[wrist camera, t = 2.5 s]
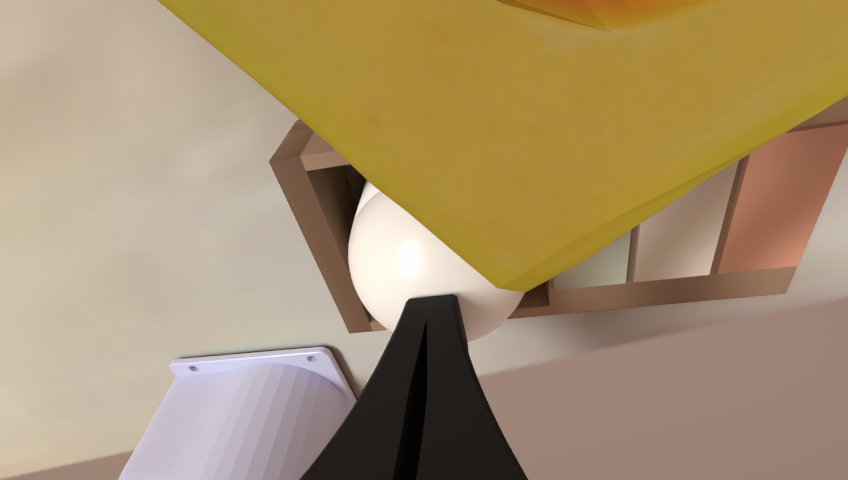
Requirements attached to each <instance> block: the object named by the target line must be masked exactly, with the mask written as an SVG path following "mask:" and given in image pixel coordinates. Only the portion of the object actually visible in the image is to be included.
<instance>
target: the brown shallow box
mask: <svg viewBox="0 0 848 480" xmlns="http://www.w3.org/2000/svg"><path fill="white" fill-rule="evenodd" d="M847 148H848V96H846V97H845V98H843V99H841V100H840V101H838V102H836V103H835V104H833V105H831V106H830V107H828V108H826V109H825V110H823V111H821V112H820V113H818V114H816V115H815V116H813V117H811V118H809V119H808V120H806V121H804V122H803V123H801V124H799V125H798V126H796V127H794V128H793V129H791V130H789V131H788V132H786V133H784V134H782V135H781V136H779V137H777V138H776V139H774V140H772V141H771V142H769V143H767V144H766V145H764V146H762V147H760V148H759V149H757V150H755V151H754V152H752V153H750V154H749V155H747V156H745V157H744V158H742V159H740V160H739V161H737V162H735V163H733V164H732V165H730V166H728V167H727V168H725V169H723V170H722V171H720V172H718V173H717V174H715V175H713V176H711V177H710V178H708V179H707V180H705V181H704V182H702V183H701V184H699V185H698V186H696V187H695V188H693V189H692V190H690V191H689V192H687V193H686V194H684V195H683V196H681V197H680V198H678V199H677V200H675V201H674V202H672V203H671V204H669V205H668V206H666V207H665V208H663V209H662V210H660V211H659V212H657V213H656V214H654V215H653V216H651V217H650V218H648V219H647V220H645V221H644V222H642V223H641V224H639V225H637V226H636V227H634V228H633V229H631V230H630V231H628V232H627V233H625V234H624V235H622V236H621V237H619V238H618V239H616V240H615V241H613V242H612V243H610V244H609V245H607V246H606V247H604V248H603V249H601V250H600V251H598V252H596V253H595V254H593V255H592V256H590V257H589V258H587V259H586V260H584V261H583V262H581V263H580V264H578V265H576V266H574V267H572V268H570V269H568V270H567V271H565V272H563V273H561V274H559V275H557V276H555V277H553V278H551V279H550V280H548V281H546V282H544V283H542V284H540V285H538V286H536V287H534V288H533V289H531V290H529V291H527V292H525V294H524V295H523V297H522V299H521V301H520V302H519V304H518V306H517V307H516V309H515V310H514V311H513V312H512V313H511V315H510V316H509V317H508V318H507V319H512V318H523V317H533V316H544V315H555V314H566V313H577V312H588V311H599V310H610V309H621V308H631V307H642V306H653V305H664V304H675V303H686V302H697V301H708V300H718V299H729V298H740V297H751V296H762V295H773V294H784V293H786V292H787V289H788V287H789V285H790V282H791V280H792V277H793V275H794V273H795V270H796V268H797V266H798V264H799V262H800V259H801V257H802V255H803V252H804V250H805V248H806V245H807V243H808V240H809V238H810V236H811V233H812V231H813V229H814V226H815V224H816V221H817V219H818V217H819V214H820V212H821V210H822V207H823V205H824V202H825V200H826V198H827V195H828V193H829V191H830V188H831V186H832V183H833V181H834V179H835V176H836V174H837V172H838V169H839V167H840V164H841V162H842V160H843V157H844V155H845V152H846V150H847ZM269 163H270V165H271V167H272V169H273V171H274V173H275V175H276V178H277V180H278V182H279V184H280V186H281V188H282V190H283V193H284V195H285V197H286V199H287V201H288V203H289V205H290V207H291V210H292V212H293V214H294V216H295V218H296V220H297V222H298V224H299V227H300V229H301V231H302V233H303V235H304V237H305V239H306V242H307V244H308V246H309V248H310V250H311V252H312V254H313V256H314V259H315V261H316V263H317V265H318V267H319V269H320V271H321V274H322V276H323V278H324V280H325V282H326V284H327V286H328V288H329V291H330V293H331V295H332V297H333V299H334V301H335V303H336V305H337V308H338V310H339V312H340V314H341V316H342V318H343V320H344V323H345V325H346V327H347V329H348V331H349V333H359V332H370V331H381V330H388V329H386V328H385V327H384V326H383V325H381V324H380V323H379V322H378V321H377V320H376V319H375V318H374V317H373V316H372V315H371V314H370V313H369V311H368V310H367V309H366V307H365V306H364V304H363V303H362V302H361V300H360V298H359V296H358V294H357V292H356V290H355V287H354V285H353V282H352V278H351V274H350V269H349V262H348V244H349V239H350V234H351V229H352V225H353V222H354V218H355V215H356V212H357V207H356V204H355V202H354V199H353V196H352V193H351V191H350V188H349V185H348V182H347V179H346V177H345V174H344V171H343V168H342V165H347V164H350V163H349V162H348V161H347V160H346V159H344V158H343V157H342V156H341V155H340V154H339V153H338V152H337V151H336V150H335V149H334V148H333V147H332V146H331V145H329V144H328V143H327V142H326V141H325V140H324V139H323V138H321V137H320V136H319V135H318V134H317V133H316V132H314V131H313V130H312V129H311V128H310V127H309V126H308V125H306V124H305V123H304V122H303V121H302V120H297V121H296V122H295V124H294V125H293V127H292V128H291V130H290V131H289V133H288V134H287V136H286V137H285V139H284V140H283V142H282V143H281V145H280V146H279V148H278V149H277V151H276V152H275V154H274V155H273V156H272V158H271V159H270V161H269Z"/></svg>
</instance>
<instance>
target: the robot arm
mask: <svg viewBox="0 0 848 480" xmlns="http://www.w3.org/2000/svg"><path fill="white" fill-rule="evenodd" d="M169 369H170V370H171V371H172V373H173V374H174V375H175V376H176V378H175V380H174V382H173V383H172V385H171V387H170V389H169V390H168V392H167V394H166V396H165V397H164V399H163V401H162V403H161V404H160V406H159V408H158V410H157V411H156V413H155V415H154V417H153V418H152V420H151V422H150V424H149V426H148V427H147V429H146V431H145V433H144V434H143V436H142V438H141V440H140V441H139V443H138V445H137V447H136V448H135V450H134V452H133V454H132V455H131V457H130V459H129V461H128V463H127V464H126V466H125V468H124V470H123V471H122V473H121V475H120V477H119V479H118V480H528V479H527V477H526V475H525V473H524V472H523V470H522V468H521V466H520V464H519V463H518V461H517V459H516V457H515V456H514V454H513V452H512V450H511V448H510V447H509V445H508V443H507V441H506V439H505V437H504V435H503V433H502V431H501V429H500V427H499V425H498V423H497V421H496V419H495V417H494V415H493V413H492V411H491V408H490V406H489V404H488V402H487V400H486V397H485V395H484V393H483V390H482V388H481V386H480V383H479V381H478V378H477V376H476V373H475V370H474V368H473V365H472V362H471V359H470V356H469V353H468V343H467V336H466V332H465V327H464V323H463V318H462V314H461V310H460V305H459V301H458V297H457V296H455V295H454V294H449V295H439V296H429V297H420V298H410V299H408V300H407V301H406V303H405V306H404V309H403V311H402V314H401V316H400V318H399V321H398V323H397V325H396V328H395V330H394V332H393V334H392V336H391V339H390V341H389V343H388V345H387V347H386V349H385V351H384V353H383V355H382V357H381V359H380V361H379V363H378V365H377V366H376V368H375V370H374V372H373V374H372V375H371V377H370V379H369V381H368V382H367V384H366V386H365V388H364V389H363V391H362V393H361V395H360V396H359V398H358V400H356V398H355V396H354V394H353V392H352V390H351V389H350V387H349V385H348V383H347V381H346V379H345V377H344V375H343V373H342V372H341V370H340V368H339V366H338V364H337V362H336V360H335V358H334V356H333V355H332V353H331V351H330V350H329V349H327V348H325V347H311V348H300V349H289V350H277V351H266V352H254V353H243V354H231V355H220V356H209V357H197V358H186V359H176V360H173V361H172V362H171V364H170V366H169Z"/></svg>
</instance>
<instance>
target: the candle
mask: <svg viewBox="0 0 848 480" xmlns="http://www.w3.org/2000/svg"><path fill="white" fill-rule="evenodd" d="M158 1H159V2H160V3H161V4H162V5H164V6H165V7H166V8H167V9H169V10H170V11H171V12H172V13H173V14H175V15H176V16H177V17H178V18H180V19H181V20H182V21H183V22H184V23H186V24H187V25H188V26H189V27H191V28H192V29H193V30H194V31H195V32H197V33H198V34H199V35H200V36H202V37H203V38H204V39H205V40H207V41H208V42H209V43H210V44H211V45H213V46H214V47H215V48H216V49H218V50H219V51H220V52H221V53H222V54H224V55H225V56H226V57H227V58H229V59H230V60H231V61H232V62H233V63H235V64H236V65H237V66H238V67H240V68H241V69H242V70H243V71H244V72H246V73H247V74H248V75H249V76H251V77H252V78H253V79H254V80H255V81H257V82H258V83H259V84H260V85H261V86H262V87H264V88H265V89H266V90H267V91H268V92H269V93H270V94H272V95H273V96H274V97H275V98H276V99H277V100H279V101H280V102H281V103H282V104H283V105H284V106H286V107H287V108H288V109H289V110H290V111H291V112H292V113H294V114H295V115H296V116H297V117H298V118H299V119H301V120H302V121H303V122H304V123H305V124H306V125H308V126H309V127H310V128H311V129H312V130H313V131H314V132H316V133H317V134H318V135H319V136H320V137H321V138H323V139H324V140H325V141H326V142H327V143H328V144H329V145H331V146H332V147H333V148H334V149H335V150H336V151H337V152H338V153H339V154H340V155H341V156H342V157H343V158H344V159H346V160H347V161H348V162H349V163H350V164H351V165H352V166H353V167H354V168H355V169H356V170H357V171H358V172H359V173H360V174H361V175H363V176H364V177H365V178H366V179H367V180H368V181H369V182H370V183H371V184H372V185H373V186H374V187H376V188H377V189H378V190H379V191H381V192H382V193H383V194H385V195H386V196H387V197H388V198H390V199H391V200H392V201H394V202H395V203H396V204H398V205H399V206H400V207H401V208H403V209H404V210H405V211H407V212H408V213H409V214H410V215H411V216H413V217H414V218H415V219H416V220H417V221H418V222H420V223H421V224H422V225H423V226H424V227H425V228H427V229H428V230H429V231H430V232H431V233H432V234H434V235H435V236H436V237H437V238H438V239H439V240H441V241H442V242H443V243H444V244H445V245H446V246H448V247H449V248H450V249H451V250H452V251H454V252H455V253H456V254H457V255H458V256H459V257H461V258H462V259H463V260H464V261H465V262H466V263H468V264H469V265H470V266H471V267H472V268H474V269H475V270H476V271H477V272H478V273H480V274H481V275H482V276H483V277H484V278H486V279H487V280H488V281H489V282H490V283H492V284H493V285H494V286H495V287H496V288H498V289H505V290H511V291H517V292H524V293H525V292H527V291H529V290H531V289H533V288H534V287H536V286H538V285H540V284H542V283H544V282H546V281H548V280H550V279H551V278H553V277H555V276H557V275H559V274H561V273H563V272H565V271H567V270H568V269H570V268H572V267H574V266H576V265H578V264H580V263H581V262H583V261H584V260H586V259H587V258H589V257H590V256H592V255H593V254H595V253H596V252H598V251H600V250H601V249H603V248H604V247H606V246H607V245H609V244H610V243H612V242H613V241H615V240H616V239H618V238H619V237H621V236H622V235H624V234H625V233H627V232H628V231H630V230H631V229H633V228H634V227H636V226H637V225H639V224H641V223H642V222H644V221H645V220H647V219H648V218H650V217H651V216H653V215H654V214H656V213H657V212H659V211H660V210H662V209H663V208H665V207H666V206H668V205H669V204H671V203H672V202H674V201H675V200H677V199H678V198H680V197H681V196H683V195H684V194H686V193H687V192H689V191H690V190H692V189H693V188H695V187H696V186H698V185H699V184H701V183H702V182H704V181H705V180H707V179H708V178H710V177H711V176H713V175H715V174H717V173H718V172H720V171H722V170H723V169H725V168H727V167H728V166H730V165H732V164H733V163H735V162H737V161H739V160H740V159H742V158H744V157H745V156H747V155H749V154H750V153H752V152H754V151H755V150H757V149H759V148H760V147H762V146H764V145H766V144H767V143H769V142H771V141H772V140H774V139H776V138H777V137H779V136H781V135H782V134H784V133H786V132H788V131H789V130H791V129H793V128H794V127H796V126H798V125H799V124H801V123H803V122H804V121H806V120H808V119H809V118H811V117H813V116H815V115H816V114H818V113H820V112H821V111H823V110H825V109H826V108H828V107H830V106H831V105H833V104H835V103H836V102H838V101H840V100H841V99H843V98H845V97H846V96H848V0H158Z"/></svg>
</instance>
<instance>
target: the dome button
mask: <svg viewBox="0 0 848 480" xmlns="http://www.w3.org/2000/svg"><path fill="white" fill-rule="evenodd" d="M348 262H349V269H350V274H351V278H352V282H353V285H354V287H355V290H356V292H357V294H358V296H359V298H360V300H361V302H362V303H363V304H364V306H365V307H366V309H367V310H368V311H369V313H370V314H371V315H372V316H373V317H374V318H375V319H376V320H377V321H378V322H379V323H380V324H381V325H383V326H384V327H385V328H386V329H388V330H389V331H391V332H392V333H393V332H394V330H395V328H396V325H397V323H398V321H399V318H400V316H401V314H402V311H403V309H404V306H405V303H406V301H407V300H408V299H410V298H420V297H429V296H439V295H449V294H454V295H455V296H457V297H458V301H459V305H460V310H461V314H462V318H463V323H464V327H465V332H466V336H467V342H470V341H473V340H476V339H478V338H480V337H483V336H484V335H486V334H488V333H489V332H491V331H492V330H494V329H495V328H497V327H498V326H499V325H501V324H502V323H503V322H504V321H505V320H506V319H507V318H508V317H509V316H510V315H511V313H512V312H513V311H514V310H515V309H516V307H517V306H518V304H519V302H520V301H521V299H522V297H523V295H524V294H525V293H524V292H517V291H511V290H505V289H498V288H496V287H495V286H494V285H493V284H492V283H490V282H489V281H488V280H487V279H486V278H484V277H483V276H482V275H481V274H480V273H478V272H477V271H476V270H475V269H474V268H472V267H471V266H470V265H469V264H468V263H466V262H465V261H464V260H463V259H462V258H461V257H459V256H458V255H457V254H456V253H455V252H454V251H452V250H451V249H450V248H449V247H448V246H446V245H445V244H444V243H443V242H442V241H441V240H439V239H438V238H437V237H436V236H435V235H434V234H432V233H431V232H430V231H429V230H428V229H427V228H425V227H424V226H423V225H422V224H421V223H420V222H418V221H417V220H416V219H415V218H414V217H413V216H411V215H410V214H409V213H408V212H407V211H405V210H404V209H403V208H401V207H400V206H399V205H398V204H396V203H395V202H394V201H392V200H391V199H390V198H388V197H387V196H386V195H385V194H383V193H382V192H381V191H379V190H378V189H377V188H376V187H374V186H373V185H372V184H371V183H370V182H369V181H368V180H367V179H366V182H365V185H364V189H363V192H362V195H361V199H360V202H359V205H358V208H357V212H356V215H355V218H354V222H353V225H352V229H351V234H350V239H349V244H348Z"/></svg>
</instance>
